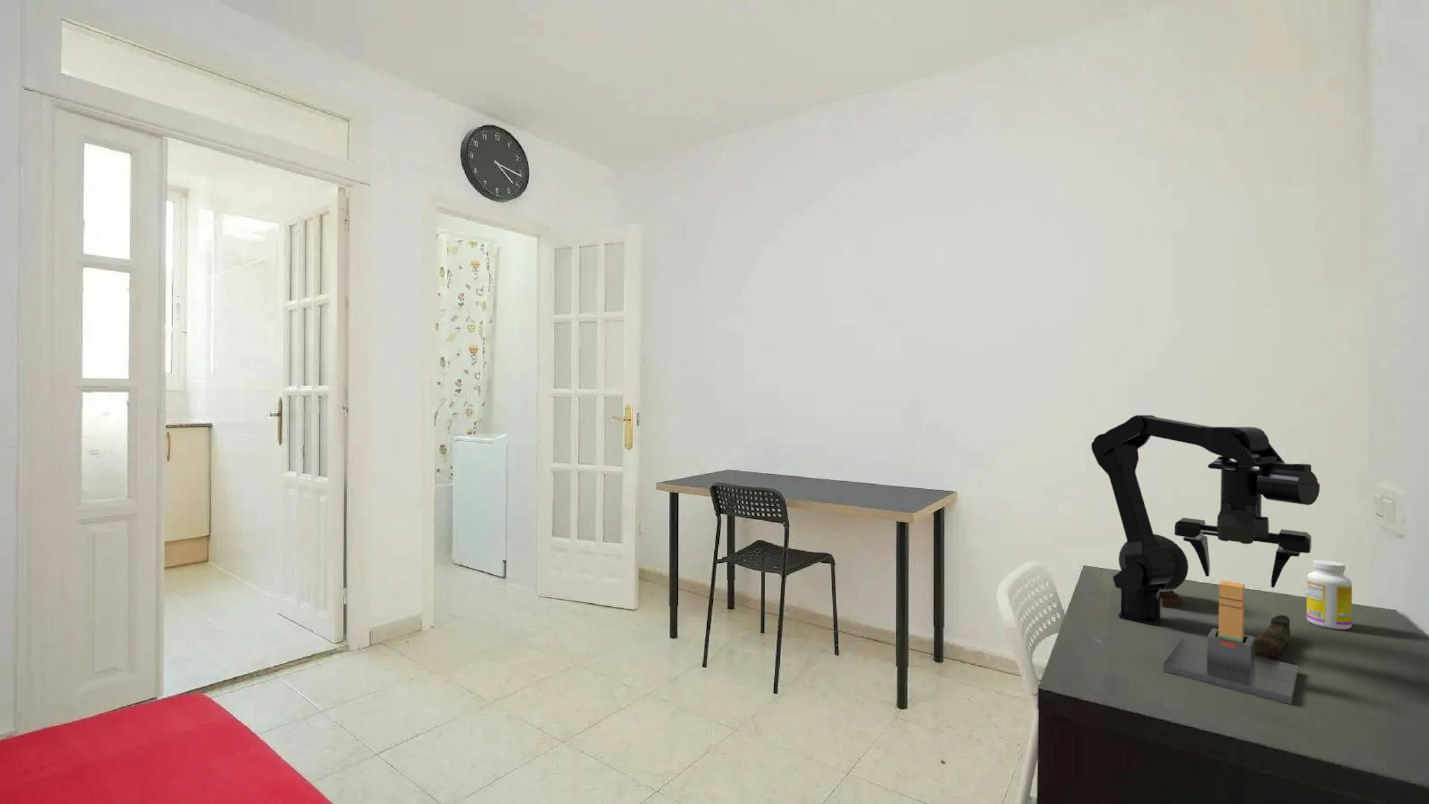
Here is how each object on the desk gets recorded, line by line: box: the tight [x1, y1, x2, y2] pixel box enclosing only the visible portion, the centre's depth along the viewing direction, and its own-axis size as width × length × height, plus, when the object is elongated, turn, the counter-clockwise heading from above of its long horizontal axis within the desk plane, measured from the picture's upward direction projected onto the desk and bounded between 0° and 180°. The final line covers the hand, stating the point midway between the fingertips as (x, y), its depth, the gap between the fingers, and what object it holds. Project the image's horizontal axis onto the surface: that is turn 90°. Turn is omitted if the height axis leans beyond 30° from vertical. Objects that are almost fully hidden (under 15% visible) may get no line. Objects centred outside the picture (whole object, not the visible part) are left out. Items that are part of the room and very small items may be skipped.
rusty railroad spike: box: [1254, 614, 1291, 661], centre depth 117 cm, size 19×4×5 cm, turn 127°
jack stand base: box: [1162, 627, 1299, 705], centre depth 107 cm, size 16×16×6 cm
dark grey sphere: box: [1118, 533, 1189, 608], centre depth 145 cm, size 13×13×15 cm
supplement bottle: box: [1306, 559, 1353, 631], centre depth 130 cm, size 7×7×13 cm
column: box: [1218, 579, 1246, 643], centre depth 106 cm, size 3×3×10 cm
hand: (1239, 581), depth 115 cm, fingers open, 9 cm apart
